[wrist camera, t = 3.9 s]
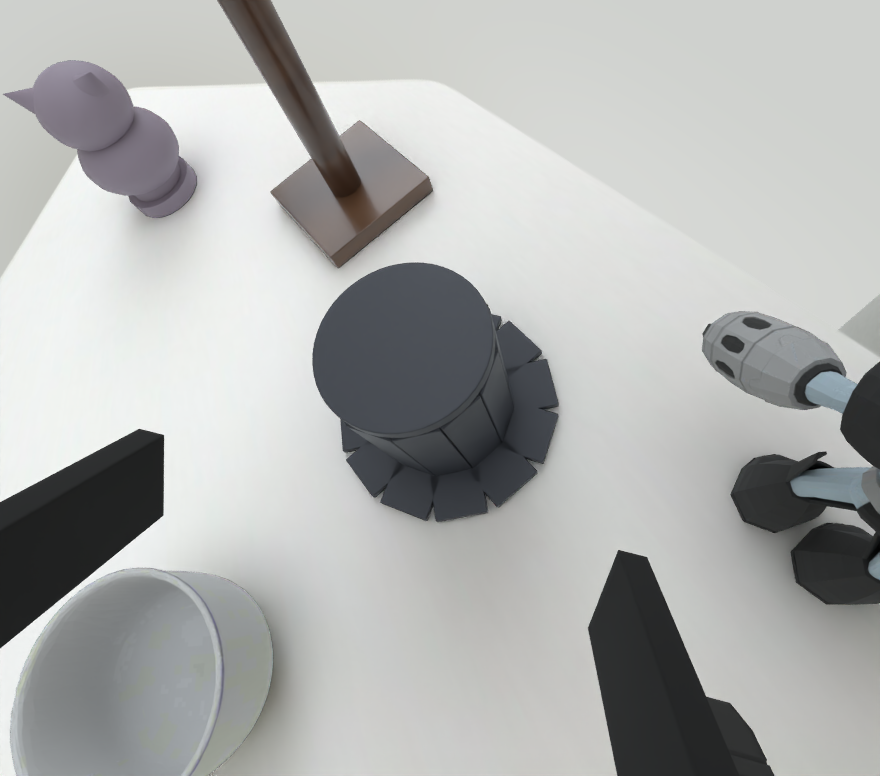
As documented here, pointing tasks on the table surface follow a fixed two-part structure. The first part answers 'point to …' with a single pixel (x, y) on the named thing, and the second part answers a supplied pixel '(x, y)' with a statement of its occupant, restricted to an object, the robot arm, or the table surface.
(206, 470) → the table surface
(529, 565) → the table surface
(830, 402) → the robot
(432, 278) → the hat
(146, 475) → the robot arm
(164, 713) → the teacup
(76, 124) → the cat figurine
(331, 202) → the stand
